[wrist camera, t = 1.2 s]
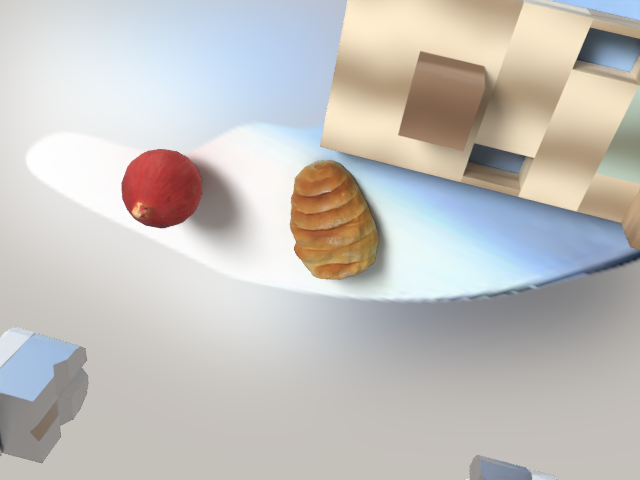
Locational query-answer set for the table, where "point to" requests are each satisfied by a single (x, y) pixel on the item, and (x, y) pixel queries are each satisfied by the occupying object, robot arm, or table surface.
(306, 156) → the table surface
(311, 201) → the pastry
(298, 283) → the table surface
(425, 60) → the walnut block
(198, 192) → the onion
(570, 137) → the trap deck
